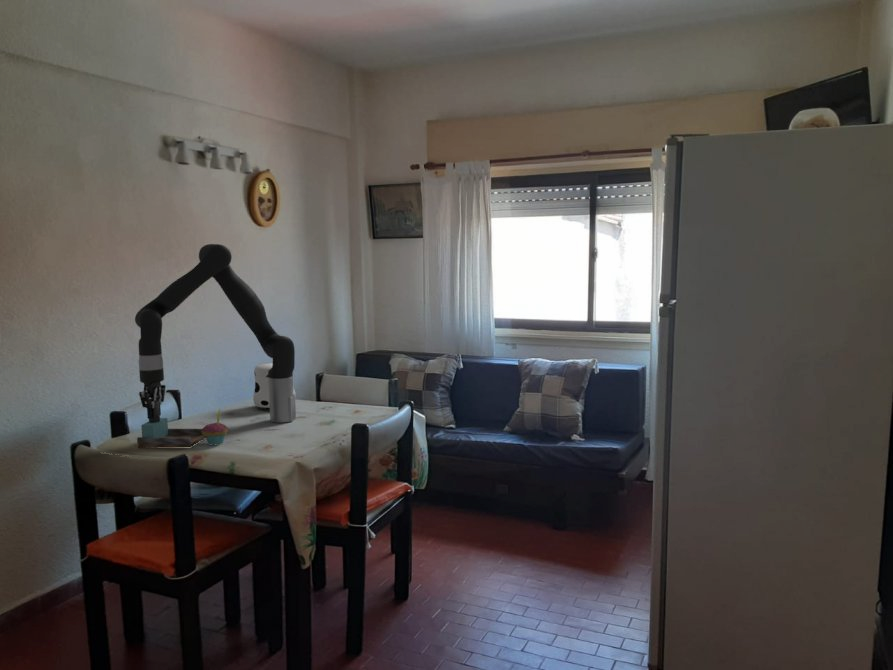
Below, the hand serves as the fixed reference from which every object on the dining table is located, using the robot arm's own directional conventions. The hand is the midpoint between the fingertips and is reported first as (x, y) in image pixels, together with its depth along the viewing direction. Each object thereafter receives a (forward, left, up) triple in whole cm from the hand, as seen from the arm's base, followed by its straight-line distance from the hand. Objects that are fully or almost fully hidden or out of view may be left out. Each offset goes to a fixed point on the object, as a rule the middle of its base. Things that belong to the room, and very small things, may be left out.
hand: (154, 416), depth 225 cm
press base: (-6, 0, -9) cm, 11 cm away
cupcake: (-21, 0, -9) cm, 23 cm away
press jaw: (0, 0, -8) cm, 8 cm away
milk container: (-24, -55, -9) cm, 61 cm away
